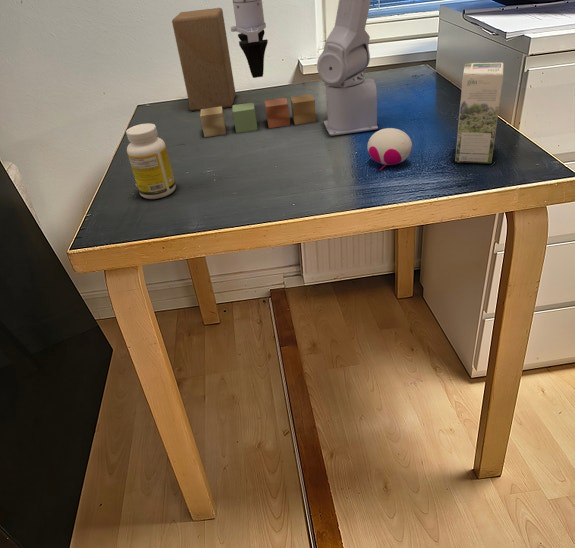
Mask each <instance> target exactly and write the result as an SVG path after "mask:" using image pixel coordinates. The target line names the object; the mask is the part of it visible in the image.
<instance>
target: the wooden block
mask: <svg viewBox="0 0 575 548" xmlns="http://www.w3.org/2000/svg"><path fill="white" fill-rule="evenodd" d="M171 23H172V28H173V33H174V38H175V42H176V47H177V51H178V53H177V54H178V56H179V61H180V66H181V72H182V76H183V81H184V85H185V90H186V96H187V99H188V105H189V109H190V111H192V112H195V111H196V112H198V111H201V109H207V108H214V107H221V106H222V109H226V108H227V109H229V108H232V105H234V101H235V97H236V87H235V82H234V81H235V80H234V75H233V74H234V73H233V69H232V62H231V56H230V55H231V54H230V49H229V43H228V36H227V30H226V23H225V18H224V11H223V8H222V7H213V8H205V9H197V10H196V9H195V10H188V11H187V10H186V11H181V12H179V13H178V14H177V15H176V16H175V17H174V18H172V19H171Z"/></svg>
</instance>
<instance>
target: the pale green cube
mask: <svg viewBox="0 0 575 548" xmlns="http://www.w3.org/2000/svg"><path fill="white" fill-rule="evenodd" d="M231 108H232V109H231V110H232V116H233V122H234V128H235V134H238V133H247V132H254V131H258V122H257V117H256V116H257V115H256V108H255V103H254V102H245V103H238V104H232V107H231Z"/></svg>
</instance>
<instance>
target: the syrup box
mask: <svg viewBox="0 0 575 548" xmlns="http://www.w3.org/2000/svg"><path fill="white" fill-rule="evenodd" d="M504 66H505V65H504V62H466V63H465V65H464V68H463V73H462V80H461V93H460V104H459V114H458V126H457V136H456V148H455V159H454V161H455V163H460V164H461V163H463V164H464V163H465V164H467V163H468V164H485V165H486V164H488V165H489V164H492V161H493V154H494V147H495V140H496V131H497V125H498V119H499V112H500V104H501V97H502V89H503V83H504V68H505V67H504Z"/></svg>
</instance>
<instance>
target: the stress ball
mask: <svg viewBox="0 0 575 548" xmlns="http://www.w3.org/2000/svg"><path fill="white" fill-rule="evenodd" d="M367 141H368V142H367V146H366V147H367V152H368V155H369V156H370V158H371V159H372V160H373V161H375V162H376V163H378V164H380V165H383V166H382V167H381V168H380V169H379V171H381V170H382V169H384V168H385V167H386V166H393V165H398V164H401V163H402V162H404V161H405V160H407V159H408V157H410V155H411V153H412V150H413V143H412V139H411V138H410V136H409V135H408V133H406V132H405V131H403V130H401V129H398V128H394V127H386V128H382V129H379V130H377V131H375V132H374V133H373V134H372V135H371V136H370V138H368V140H367Z"/></svg>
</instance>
